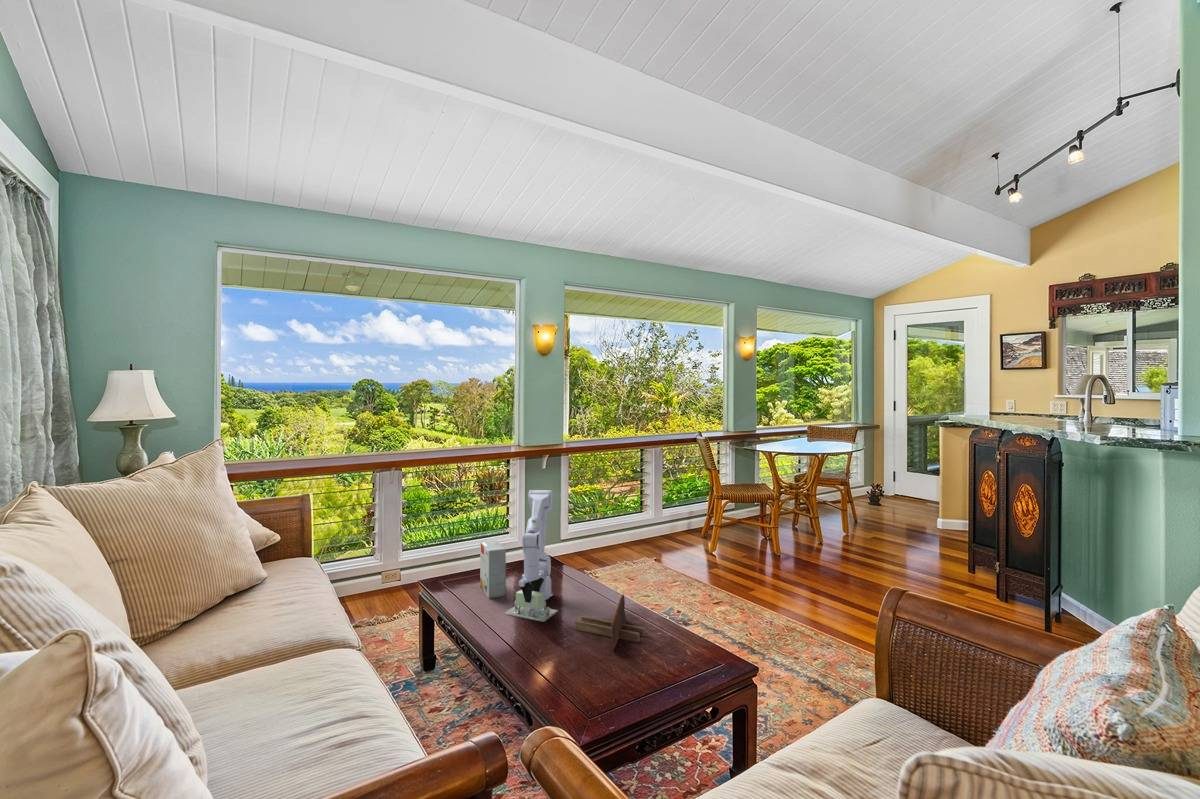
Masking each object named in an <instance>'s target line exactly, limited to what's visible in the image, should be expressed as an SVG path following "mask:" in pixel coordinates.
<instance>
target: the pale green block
mask: <svg viewBox="0 0 1200 799" xmlns="http://www.w3.org/2000/svg"><path fill="white" fill-rule="evenodd" d="M515 601H516V606H520V607H525V608H530V609H535V610H539V609H541V608H542V607H544V603H545V602H546V600H545V593H542V592H537V591H532V597H531V602H530V603H528V602H525V599H524V595H523V592H522V590H521V589H520V590H517V591H516V592H515Z"/></svg>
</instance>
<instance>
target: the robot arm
mask: <svg viewBox="0 0 1200 799" xmlns="http://www.w3.org/2000/svg"><path fill="white" fill-rule="evenodd" d="M527 496H528V497H527V498H528V499H527V502H528V505H529V508H530V511H531V517H530V518H528V519H527V524H526V529H525V533H524V534H523V535H522V539H521V540H522V542H521V543H522V553H523V574H521V579H520V580H519V581H518V587H519V588H520V590H522V592H523V595H524V599H525V602H528V603H530V602H531V597H532V591H537V592H542V593H545V601H547V600H548V599H550V598H551V597H552V596H553V595H554V594H553V593H552V578H551V576H550V575H551V569H552V564H551V561H552V560H551V557H550V555H549V554H547V553H546V552H545V550H546V549H545V548H546V532H547V529H546V528H547V517H548V513H549V512H551V511H552V510H553V504H554V502H553V501H554V493H553V490H552V489H549V490H548V489H547V490H545V489H530V490H529V491H528V495H527Z"/></svg>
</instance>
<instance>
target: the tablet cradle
mask: <svg viewBox="0 0 1200 799" xmlns="http://www.w3.org/2000/svg"><path fill="white" fill-rule="evenodd" d="M612 622H613V620H606V619H600V618H596V617H591V616H586V615H582V616H581V617H580V620H575V621H574V630H576V631H580V632H585V633H590V634H595V635H596V634H597V635H601V636H605V637H610V638H612V635H611V627H612ZM644 636H645V627H642V626H638V625H632V624H628V623H625V624H622V629H620V637H619V639H620V640H624V641H625V640H626V641H629V642H634V643H639V642H640V637H644ZM619 639H618V640H619Z"/></svg>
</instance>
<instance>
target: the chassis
mask: <svg viewBox="0 0 1200 799" xmlns="http://www.w3.org/2000/svg"><path fill="white" fill-rule="evenodd" d="M513 604H514V606H513V607H511V608H510V609H508V610H506V611H505V615H508V616H511V617H512V616H513V617H517V618H521V619H522V618H523V619H526V620H532V621H537V622H543V623H544V622H546V621H547V620H549V619H550V618H551V617H553V616H555V615H556V614H557V613H558V612H559V610H558V609H553V608H550V606H547V602H546V601H545V603H544V607H542V608H541V609H539V610H535V609H530V608H525V607H520V606H516V600H514V602H513Z"/></svg>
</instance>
